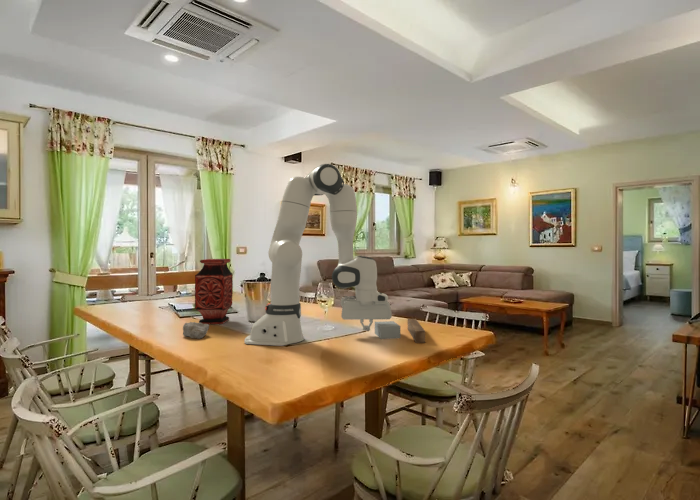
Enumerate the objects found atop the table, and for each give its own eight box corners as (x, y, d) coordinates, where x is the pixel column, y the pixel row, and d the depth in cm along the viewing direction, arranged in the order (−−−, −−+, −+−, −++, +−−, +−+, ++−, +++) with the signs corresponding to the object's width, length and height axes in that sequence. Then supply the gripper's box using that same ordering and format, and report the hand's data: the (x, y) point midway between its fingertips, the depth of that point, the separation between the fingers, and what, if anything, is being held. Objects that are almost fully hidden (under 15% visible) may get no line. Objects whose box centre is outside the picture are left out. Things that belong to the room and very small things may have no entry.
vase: (224, 325, 185) (223, 259, 184) (194, 325, 185) (193, 259, 184) (233, 319, 199) (232, 258, 198) (205, 319, 199) (205, 258, 198)
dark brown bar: (415, 343, 150) (415, 331, 150) (407, 329, 174) (407, 318, 174) (425, 343, 150) (425, 331, 150) (415, 329, 174) (415, 318, 174)
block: (380, 339, 157) (380, 326, 157) (374, 333, 167) (374, 321, 167) (400, 338, 158) (400, 326, 158) (393, 333, 168) (393, 321, 168)
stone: (177, 339, 159) (177, 324, 158) (188, 334, 167) (188, 320, 166) (201, 339, 158) (201, 325, 157) (210, 335, 166) (210, 321, 165)
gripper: (340, 297, 159) (340, 332, 160) (391, 297, 159) (392, 331, 159) (340, 295, 166) (341, 328, 166) (390, 295, 165) (390, 328, 166)
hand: (366, 330), depth 163 cm, fingers closed
